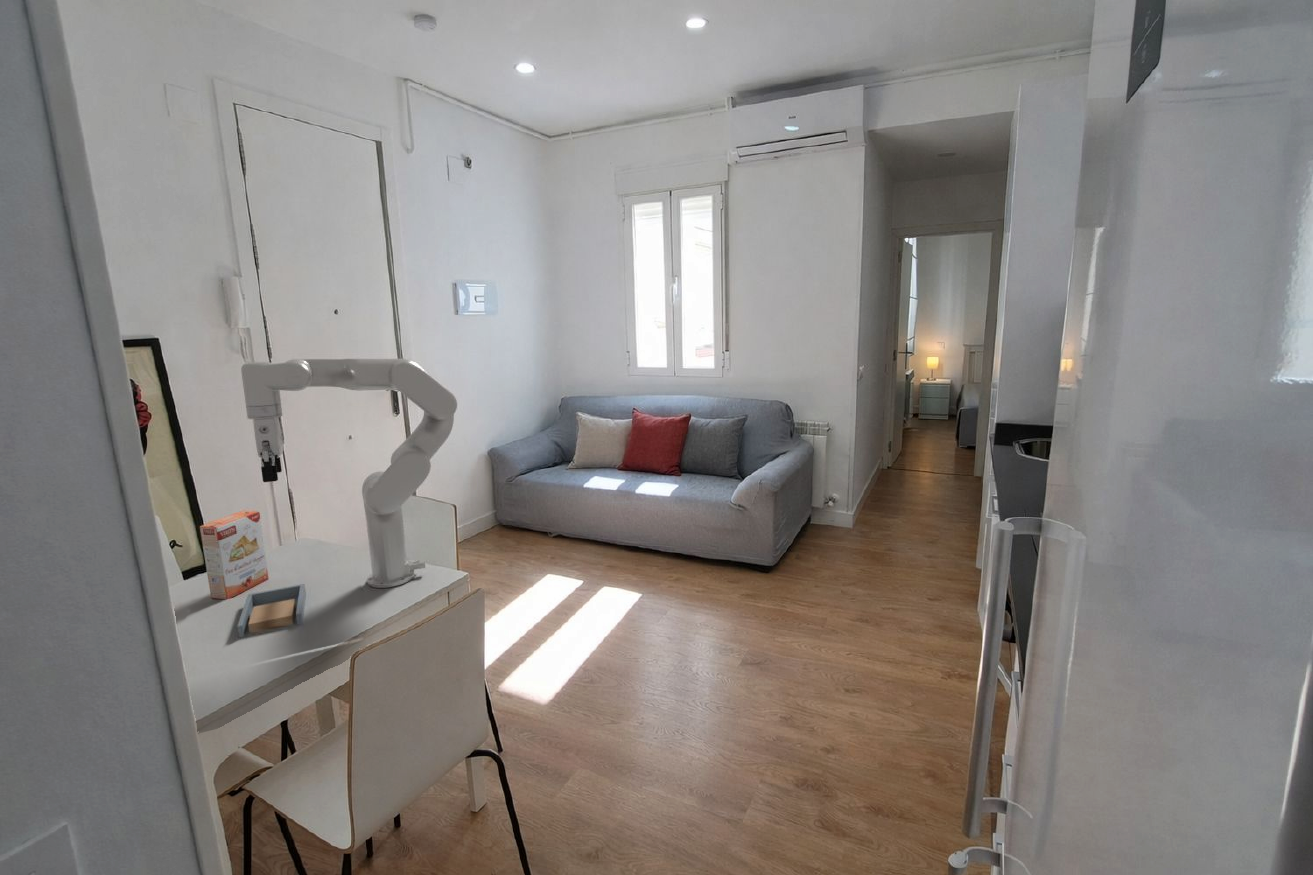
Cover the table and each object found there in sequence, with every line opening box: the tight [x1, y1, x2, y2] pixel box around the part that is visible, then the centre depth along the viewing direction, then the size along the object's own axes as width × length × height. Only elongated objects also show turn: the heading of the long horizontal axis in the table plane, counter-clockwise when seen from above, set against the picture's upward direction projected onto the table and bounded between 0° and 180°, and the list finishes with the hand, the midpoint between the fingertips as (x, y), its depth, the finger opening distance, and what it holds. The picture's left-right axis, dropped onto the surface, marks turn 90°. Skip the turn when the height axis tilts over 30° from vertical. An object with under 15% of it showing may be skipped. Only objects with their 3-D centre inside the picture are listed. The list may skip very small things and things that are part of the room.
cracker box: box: [199, 510, 269, 600], centre depth 169 cm, size 14×6×21 cm, turn 168°
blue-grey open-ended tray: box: [236, 583, 307, 639], centre depth 155 cm, size 13×19×4 cm
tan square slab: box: [248, 599, 296, 634], centre depth 152 cm, size 9×10×2 cm
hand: (272, 476), depth 157 cm, fingers open, 9 cm apart
